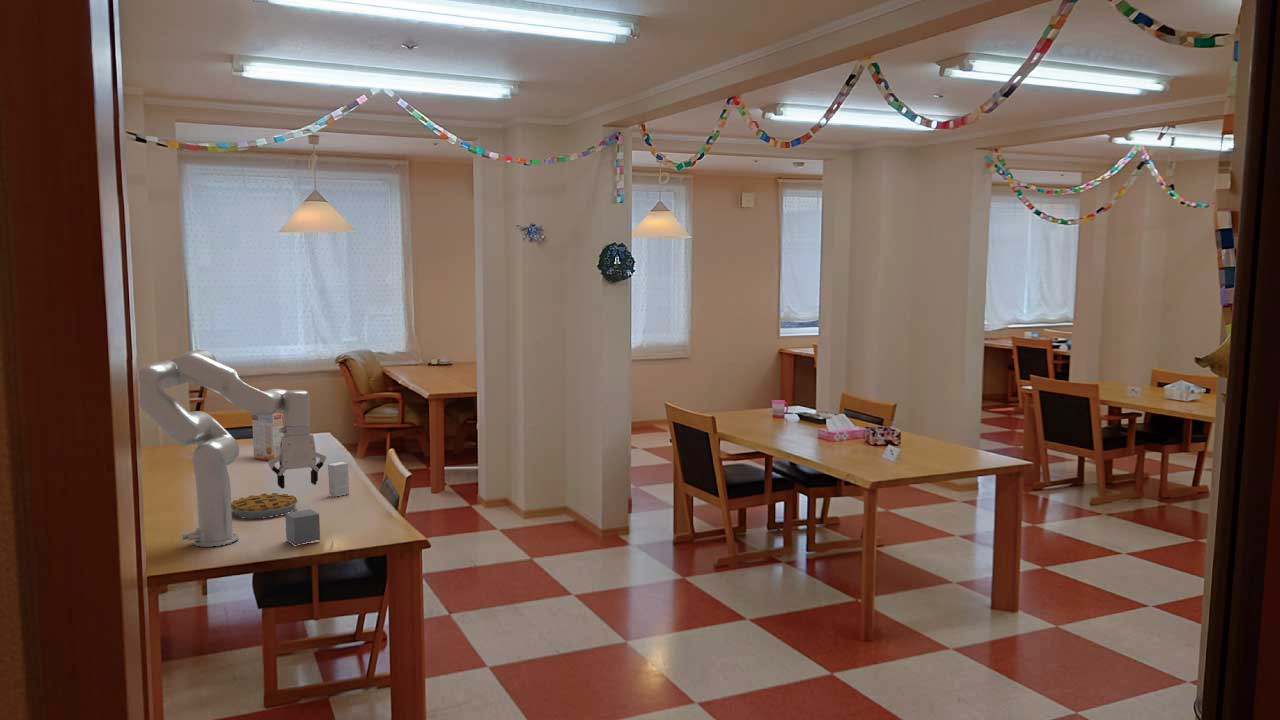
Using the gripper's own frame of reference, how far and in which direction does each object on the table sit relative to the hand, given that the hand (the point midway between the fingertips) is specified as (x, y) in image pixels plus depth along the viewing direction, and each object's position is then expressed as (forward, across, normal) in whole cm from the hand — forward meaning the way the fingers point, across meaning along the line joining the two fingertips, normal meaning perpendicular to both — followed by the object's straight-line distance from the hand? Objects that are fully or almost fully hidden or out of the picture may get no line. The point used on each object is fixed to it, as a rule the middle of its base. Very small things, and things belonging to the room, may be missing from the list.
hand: (297, 485), depth 291 cm
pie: (+18, +2, +43) cm, 47 cm away
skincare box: (+18, +30, +51) cm, 62 cm away
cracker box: (+19, +29, +136) cm, 140 cm away
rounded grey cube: (+17, +1, -2) cm, 17 cm away
